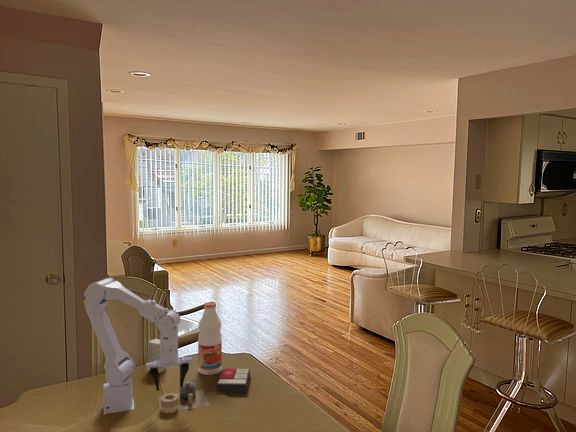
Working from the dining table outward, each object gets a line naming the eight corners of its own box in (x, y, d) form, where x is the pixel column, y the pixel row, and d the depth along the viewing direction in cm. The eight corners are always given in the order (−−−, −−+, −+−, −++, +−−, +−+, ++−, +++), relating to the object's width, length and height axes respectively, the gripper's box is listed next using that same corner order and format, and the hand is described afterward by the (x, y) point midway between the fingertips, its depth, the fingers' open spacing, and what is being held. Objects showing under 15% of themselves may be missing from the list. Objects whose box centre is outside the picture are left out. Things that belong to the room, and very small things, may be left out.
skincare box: (167, 370, 177) (166, 341, 176) (158, 373, 173) (158, 344, 173) (156, 366, 180) (156, 338, 180) (147, 370, 177) (147, 341, 176)
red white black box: (250, 367, 172) (246, 382, 157) (250, 378, 172) (246, 394, 157) (222, 367, 172) (216, 382, 157) (222, 378, 172) (216, 394, 157)
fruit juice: (213, 364, 183) (213, 299, 182) (226, 371, 177) (226, 303, 175) (193, 370, 177) (193, 303, 175) (206, 377, 170) (206, 307, 168)
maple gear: (161, 414, 141) (161, 402, 141) (160, 406, 146) (160, 395, 146) (179, 411, 143) (178, 399, 143) (176, 403, 148) (176, 392, 148)
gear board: (161, 415, 141) (160, 399, 141) (157, 397, 153) (157, 382, 153) (209, 407, 147) (209, 391, 147) (202, 390, 159) (202, 375, 159)
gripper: (147, 355, 137) (147, 396, 138) (193, 349, 142) (193, 389, 143) (145, 347, 144) (146, 387, 144) (189, 342, 149) (190, 380, 150)
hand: (169, 387), depth 144 cm, fingers open, 7 cm apart
